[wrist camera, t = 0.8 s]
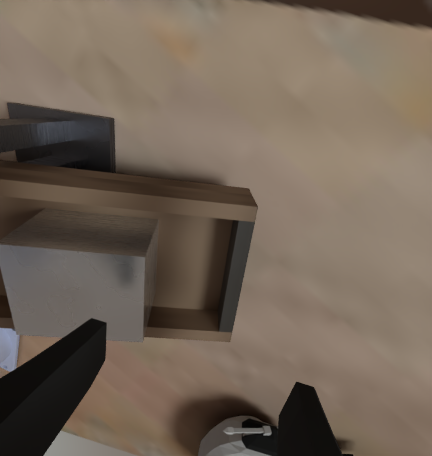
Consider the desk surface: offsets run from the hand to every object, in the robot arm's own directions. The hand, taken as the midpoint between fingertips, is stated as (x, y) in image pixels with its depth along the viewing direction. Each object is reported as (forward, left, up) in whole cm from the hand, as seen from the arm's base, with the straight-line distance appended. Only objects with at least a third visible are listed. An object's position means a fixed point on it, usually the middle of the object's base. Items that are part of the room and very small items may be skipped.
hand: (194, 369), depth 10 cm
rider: (-6, -2, -6) cm, 9 cm away
